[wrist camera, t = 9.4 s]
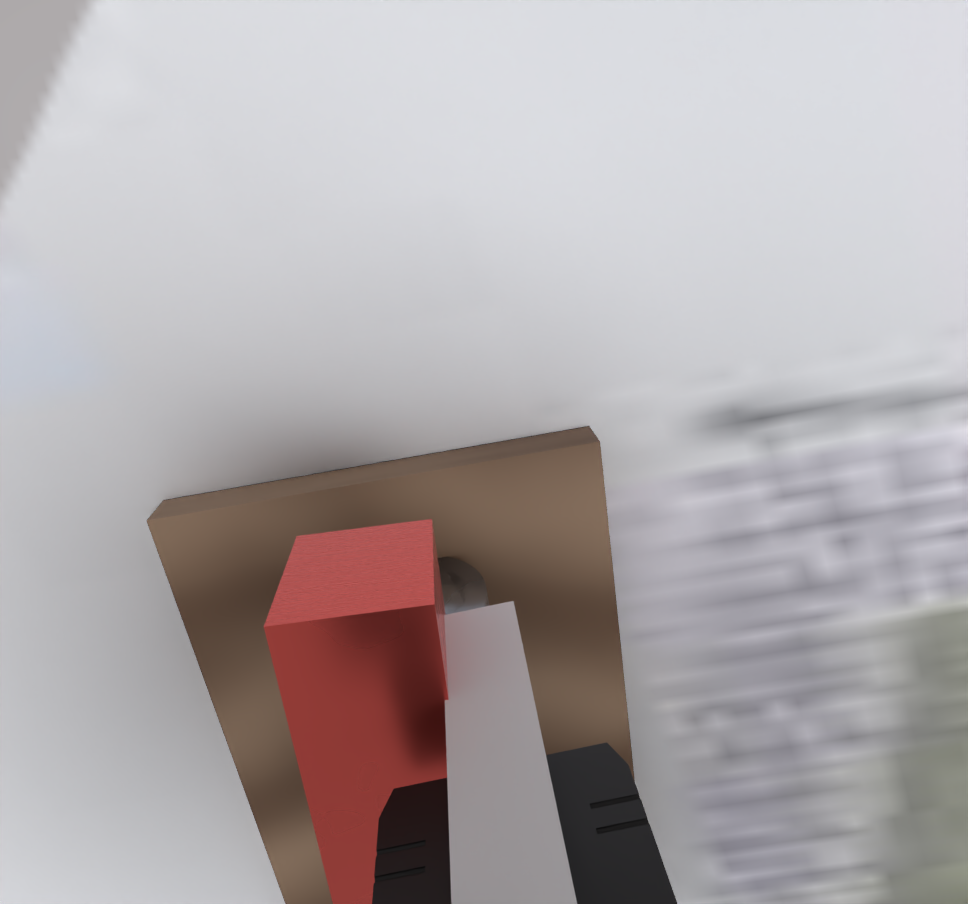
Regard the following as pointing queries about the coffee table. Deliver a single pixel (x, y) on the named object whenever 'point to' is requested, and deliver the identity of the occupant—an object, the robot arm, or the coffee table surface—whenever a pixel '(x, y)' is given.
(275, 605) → the valve handle
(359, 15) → the coffee table surface
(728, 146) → the coffee table surface
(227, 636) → the walnut board
